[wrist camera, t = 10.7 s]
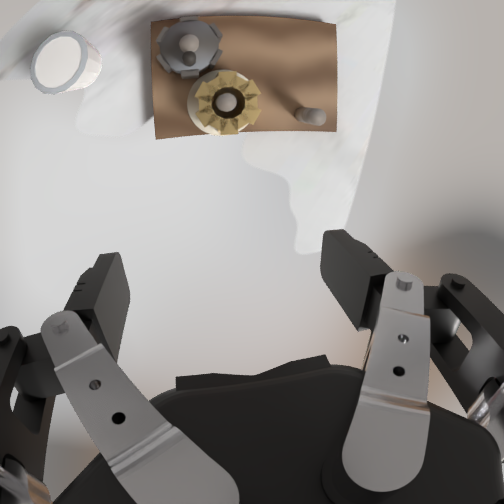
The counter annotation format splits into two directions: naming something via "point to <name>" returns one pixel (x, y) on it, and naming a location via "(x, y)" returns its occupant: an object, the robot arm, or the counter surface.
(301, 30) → the gear board
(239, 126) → the brass gear
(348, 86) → the counter surface
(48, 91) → the shot glass
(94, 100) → the counter surface
